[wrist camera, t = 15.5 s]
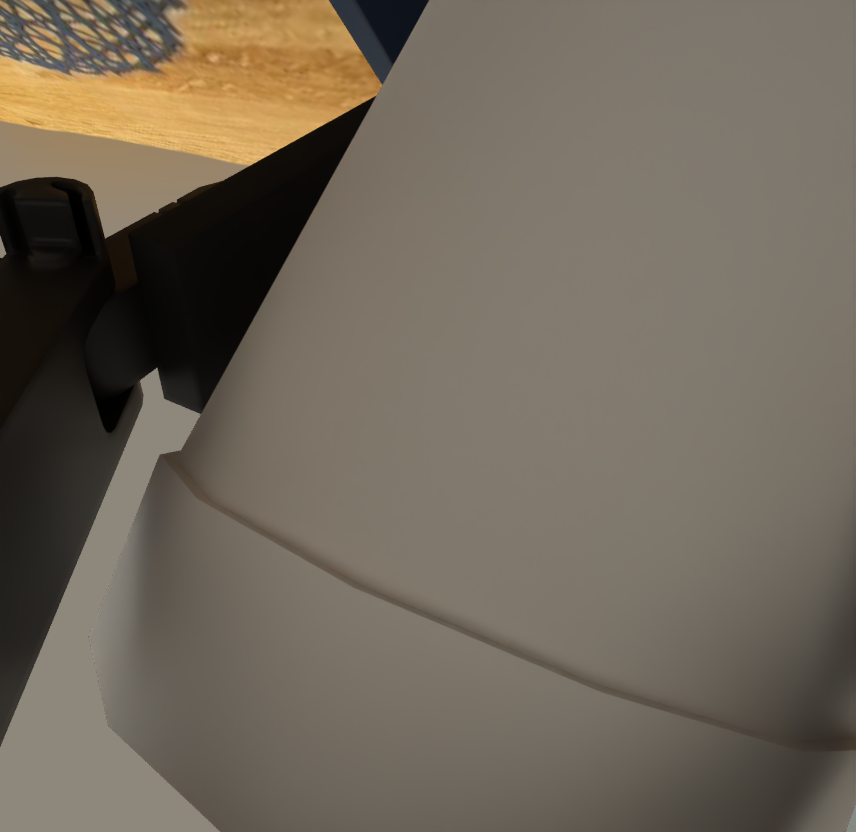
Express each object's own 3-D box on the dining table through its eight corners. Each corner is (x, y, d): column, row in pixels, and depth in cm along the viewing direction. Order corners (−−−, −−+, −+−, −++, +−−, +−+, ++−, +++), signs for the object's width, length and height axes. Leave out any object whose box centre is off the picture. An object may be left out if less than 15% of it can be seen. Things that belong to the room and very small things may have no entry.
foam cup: (849, 118, 16) (628, 707, 16) (435, -62, 15) (196, 550, 15) (1539, -305, 7) (1020, 1153, 6) (540, -822, 6) (-95, 784, 6)
